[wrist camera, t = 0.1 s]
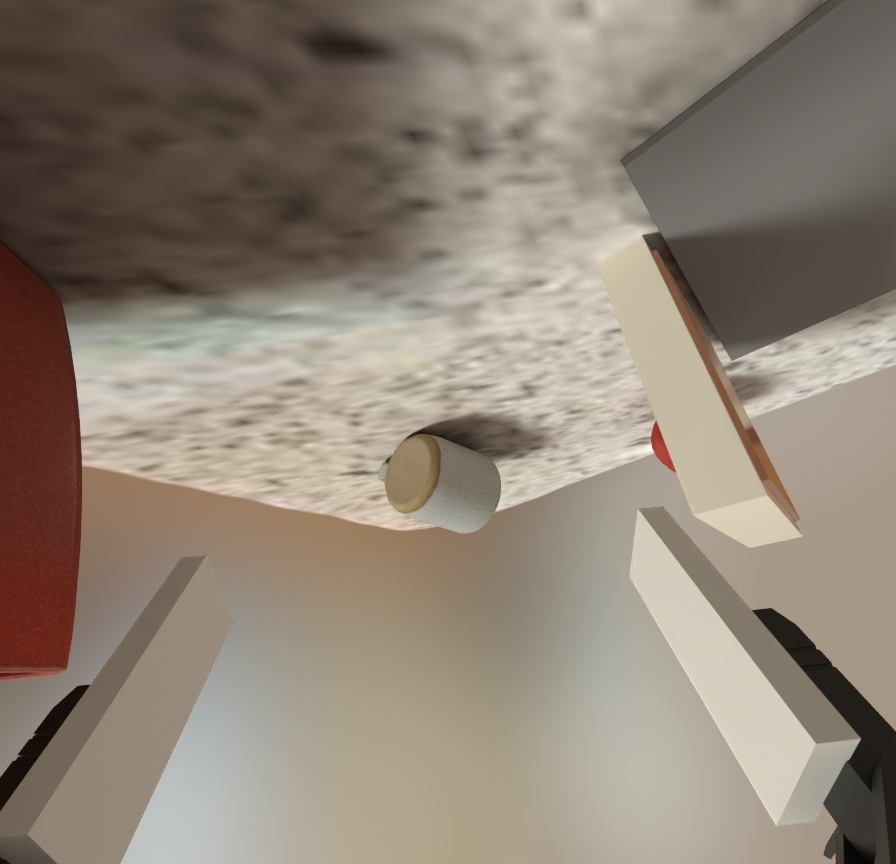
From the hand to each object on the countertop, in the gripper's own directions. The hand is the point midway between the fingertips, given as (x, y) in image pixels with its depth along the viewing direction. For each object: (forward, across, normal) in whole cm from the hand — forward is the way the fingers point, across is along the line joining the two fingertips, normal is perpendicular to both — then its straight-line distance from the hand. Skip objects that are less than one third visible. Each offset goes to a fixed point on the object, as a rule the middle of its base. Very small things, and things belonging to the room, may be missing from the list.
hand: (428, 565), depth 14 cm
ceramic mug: (+26, 0, -10) cm, 28 cm away
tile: (+16, +14, +4) cm, 22 cm away
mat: (+12, +22, +9) cm, 27 cm away
